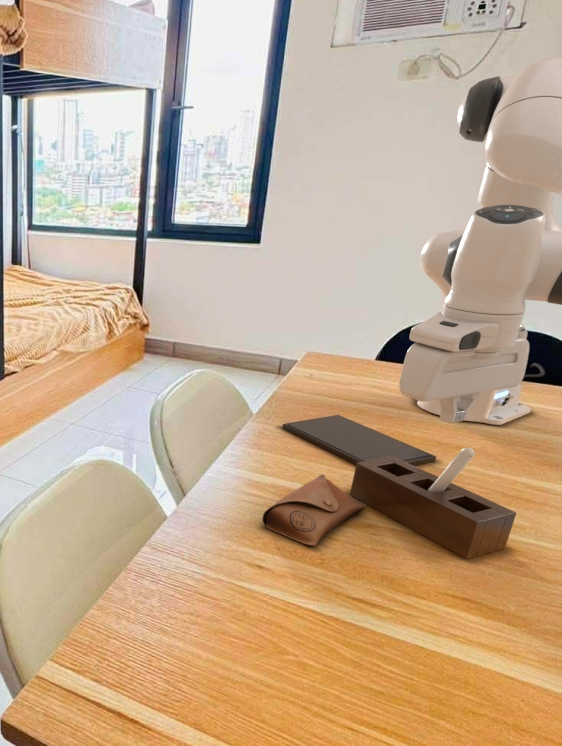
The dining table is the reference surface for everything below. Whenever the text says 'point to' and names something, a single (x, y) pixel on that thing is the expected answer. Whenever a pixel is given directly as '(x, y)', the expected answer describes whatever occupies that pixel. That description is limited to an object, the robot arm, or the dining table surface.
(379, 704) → the dining table surface
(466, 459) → the stylus
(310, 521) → the sunglasses case
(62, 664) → the dining table surface
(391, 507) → the pen holder
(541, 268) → the robot arm
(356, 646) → the dining table surface
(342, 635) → the dining table surface
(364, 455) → the tablet
